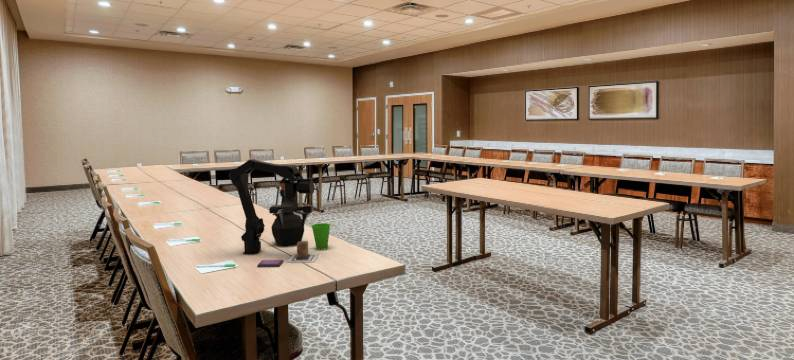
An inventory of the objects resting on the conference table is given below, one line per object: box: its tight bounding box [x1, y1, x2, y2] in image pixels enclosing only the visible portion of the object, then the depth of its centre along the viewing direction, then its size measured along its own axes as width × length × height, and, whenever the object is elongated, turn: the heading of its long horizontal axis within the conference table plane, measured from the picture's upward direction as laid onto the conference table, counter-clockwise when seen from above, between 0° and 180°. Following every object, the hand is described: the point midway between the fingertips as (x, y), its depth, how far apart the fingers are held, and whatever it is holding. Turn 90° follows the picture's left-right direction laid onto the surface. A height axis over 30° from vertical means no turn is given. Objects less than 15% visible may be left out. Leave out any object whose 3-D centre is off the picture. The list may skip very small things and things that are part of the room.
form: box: [286, 254, 320, 264], centre depth 211 cm, size 12×11×1 cm
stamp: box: [296, 240, 311, 260], centre depth 210 cm, size 5×5×7 cm
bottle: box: [271, 184, 305, 247], centre depth 237 cm, size 16×16×30 cm
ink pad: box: [257, 259, 284, 268], centre depth 203 cm, size 9×7×1 cm
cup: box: [310, 222, 331, 250], centre depth 228 cm, size 9×9×11 cm
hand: (292, 227), depth 218 cm, fingers open, 9 cm apart
